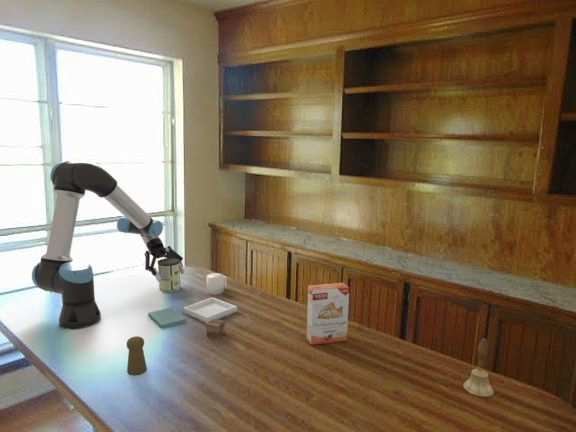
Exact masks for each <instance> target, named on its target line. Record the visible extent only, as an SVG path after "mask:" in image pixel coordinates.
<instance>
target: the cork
mask: <svg viewBox="0 0 576 432" xmlns="http://www.w3.org/2000/svg"><path fill="white" fill-rule="evenodd" d="M144 345H145V340H144V338H143V337H142V336H139V335H138V336H132V337H130V338H128V340H127V341H126V348H127V349H128V353H127V354H128V357H127V358H128V359H127V366H126V367H127V368H126V369H127V370H126V373H128V374H129V375H128V374H127V375H128V376H131V375H132V376H133V377H137V376H141V375H144V374H145V373H146V372H147V371H148V367H147V362H146V356H145V353H144Z"/></svg>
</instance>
